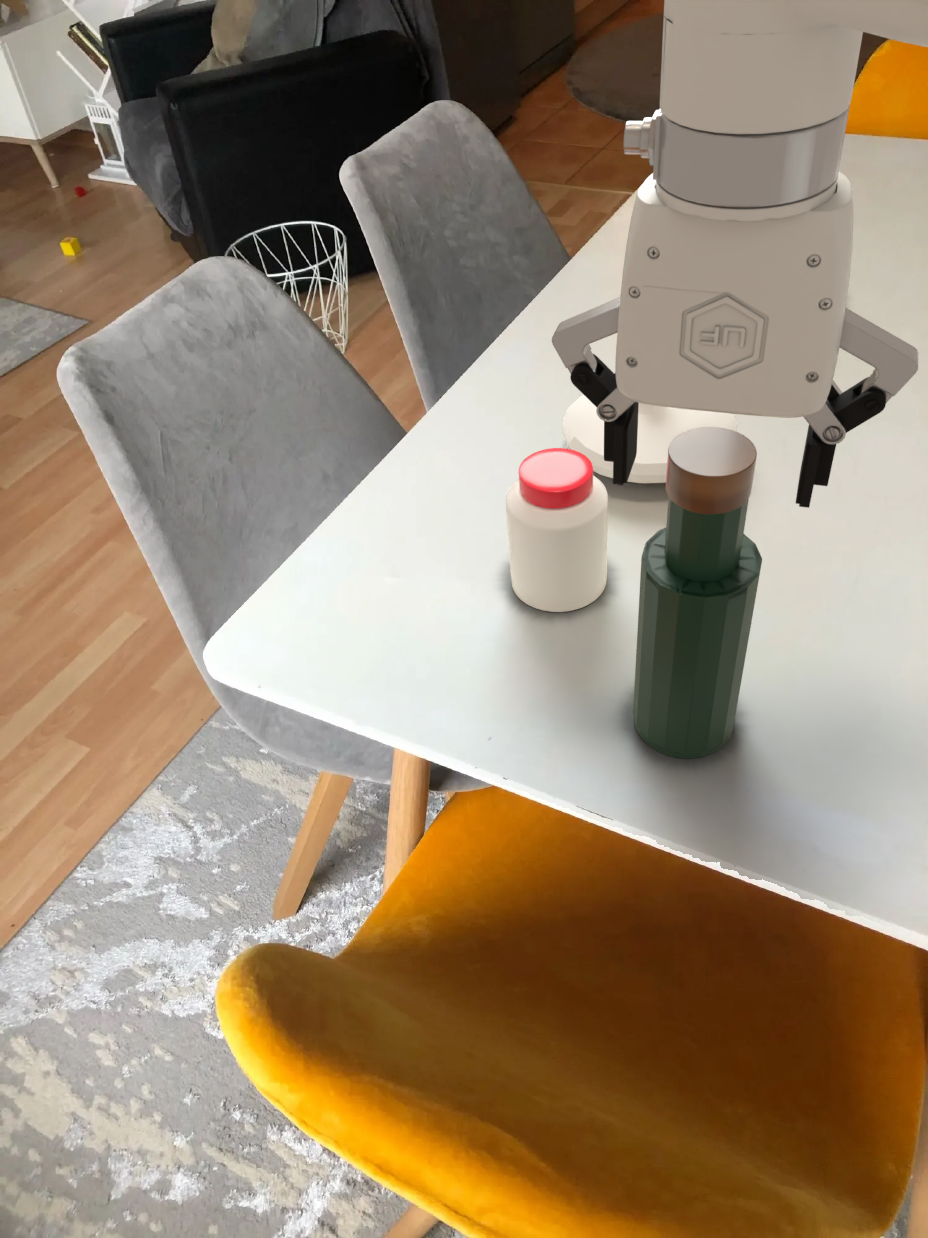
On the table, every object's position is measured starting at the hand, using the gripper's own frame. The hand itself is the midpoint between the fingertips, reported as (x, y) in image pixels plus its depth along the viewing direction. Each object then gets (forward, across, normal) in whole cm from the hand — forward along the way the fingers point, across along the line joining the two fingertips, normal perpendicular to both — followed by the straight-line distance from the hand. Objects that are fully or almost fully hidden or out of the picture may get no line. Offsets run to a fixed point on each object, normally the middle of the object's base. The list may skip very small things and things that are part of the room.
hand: (712, 480), depth 52 cm
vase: (+21, -9, +31) cm, 38 cm away
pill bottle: (+21, -12, +12) cm, 27 cm away
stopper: (+5, 0, 0) cm, 5 cm away
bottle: (+21, 0, 0) cm, 21 cm away
